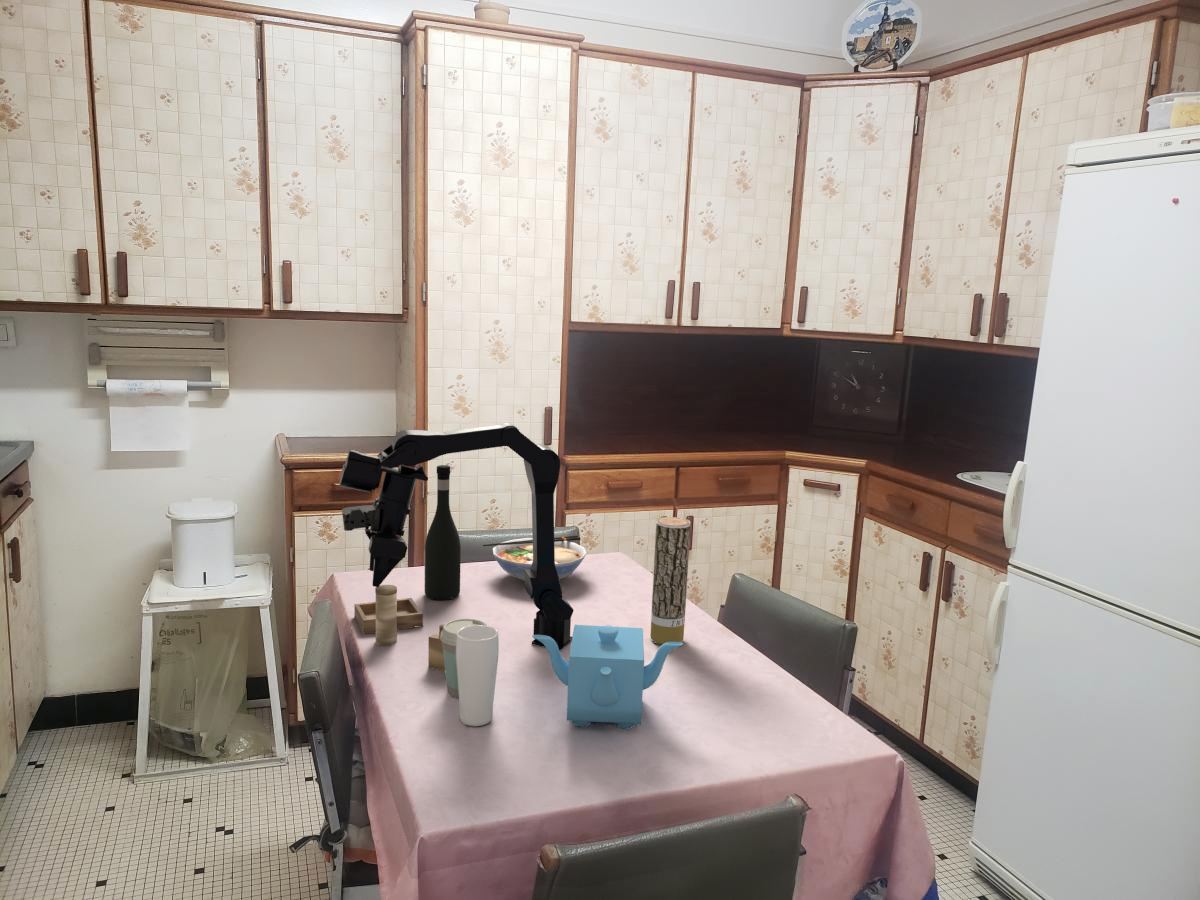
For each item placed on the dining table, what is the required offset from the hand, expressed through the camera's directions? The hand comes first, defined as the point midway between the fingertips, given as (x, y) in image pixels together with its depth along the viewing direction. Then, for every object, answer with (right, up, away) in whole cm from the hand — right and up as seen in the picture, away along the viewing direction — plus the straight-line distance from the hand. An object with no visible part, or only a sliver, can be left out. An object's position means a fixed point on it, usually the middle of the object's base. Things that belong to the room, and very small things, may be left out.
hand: (373, 578), depth 163 cm
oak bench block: (+15, -17, -1) cm, 23 cm away
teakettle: (+43, -21, -16) cm, 50 cm away
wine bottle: (+6, -10, +38) cm, 39 cm away
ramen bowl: (+27, -8, +52) cm, 59 cm away
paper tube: (+55, -15, +17) cm, 60 cm away
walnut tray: (-2, -12, +21) cm, 24 cm away
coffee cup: (+18, -18, -10) cm, 28 cm away
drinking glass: (+22, -20, -20) cm, 36 cm away
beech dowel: (0, -14, +10) cm, 17 cm away
